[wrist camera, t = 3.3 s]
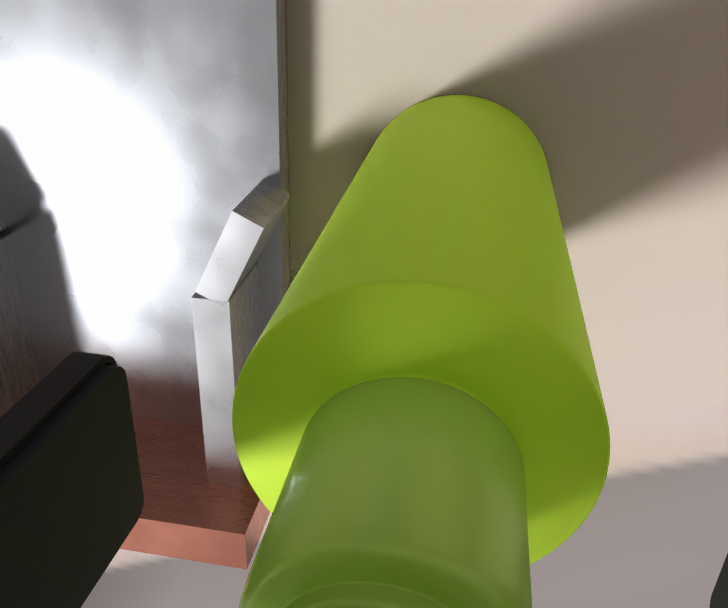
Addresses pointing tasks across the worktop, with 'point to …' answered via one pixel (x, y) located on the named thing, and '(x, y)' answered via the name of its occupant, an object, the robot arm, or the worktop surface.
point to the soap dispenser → (425, 381)
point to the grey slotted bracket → (149, 231)
